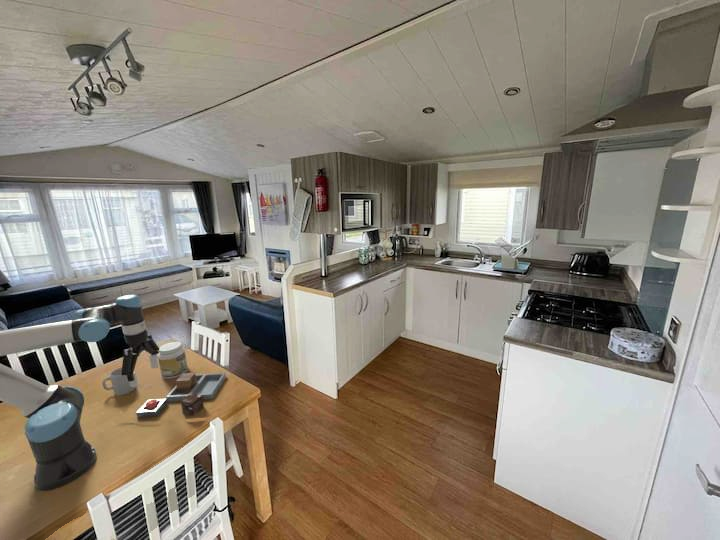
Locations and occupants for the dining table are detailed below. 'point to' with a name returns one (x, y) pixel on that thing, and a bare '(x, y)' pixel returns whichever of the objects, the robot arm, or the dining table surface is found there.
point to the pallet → (200, 387)
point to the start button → (151, 404)
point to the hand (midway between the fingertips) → (145, 376)
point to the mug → (118, 383)
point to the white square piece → (145, 412)
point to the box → (192, 404)
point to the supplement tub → (172, 360)
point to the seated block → (186, 382)
